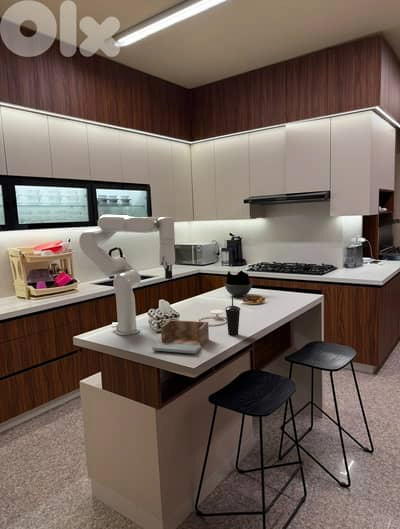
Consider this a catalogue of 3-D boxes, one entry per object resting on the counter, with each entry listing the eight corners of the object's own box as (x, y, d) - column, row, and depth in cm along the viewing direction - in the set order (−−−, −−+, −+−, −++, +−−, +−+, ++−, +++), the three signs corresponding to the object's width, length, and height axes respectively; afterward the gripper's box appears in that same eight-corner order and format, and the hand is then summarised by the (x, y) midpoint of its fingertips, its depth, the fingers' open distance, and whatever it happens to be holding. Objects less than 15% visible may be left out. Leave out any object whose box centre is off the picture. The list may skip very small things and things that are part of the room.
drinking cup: (239, 332, 189) (239, 293, 187) (241, 336, 182) (241, 297, 179) (224, 332, 189) (224, 294, 186) (226, 337, 181) (225, 297, 179)
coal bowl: (256, 295, 274) (256, 269, 272) (245, 300, 257) (244, 274, 255) (232, 292, 285) (232, 268, 282) (220, 298, 268) (219, 272, 265)
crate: (161, 344, 174) (160, 326, 173) (170, 337, 185) (169, 319, 184) (202, 347, 168) (201, 328, 167) (208, 339, 179) (208, 321, 178)
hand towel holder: (190, 317, 205) (207, 308, 223) (191, 325, 205) (207, 315, 224) (218, 320, 197) (233, 310, 215) (219, 328, 198) (233, 318, 216)
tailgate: (160, 345, 173) (152, 350, 164) (160, 342, 173) (152, 347, 164) (201, 348, 167) (195, 353, 158) (201, 345, 167) (195, 350, 158)
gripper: (165, 241, 191) (167, 276, 193) (154, 243, 177) (156, 281, 179) (179, 240, 188) (181, 276, 191) (168, 243, 174) (170, 281, 177)
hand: (168, 278), depth 185 cm, fingers closed
